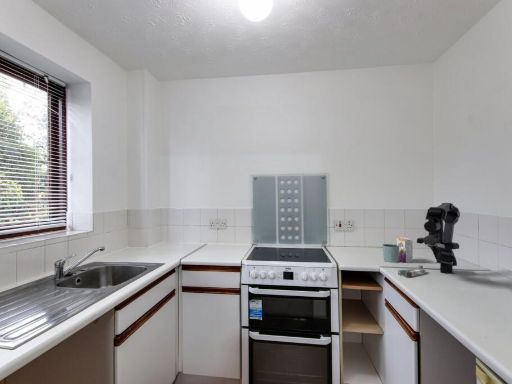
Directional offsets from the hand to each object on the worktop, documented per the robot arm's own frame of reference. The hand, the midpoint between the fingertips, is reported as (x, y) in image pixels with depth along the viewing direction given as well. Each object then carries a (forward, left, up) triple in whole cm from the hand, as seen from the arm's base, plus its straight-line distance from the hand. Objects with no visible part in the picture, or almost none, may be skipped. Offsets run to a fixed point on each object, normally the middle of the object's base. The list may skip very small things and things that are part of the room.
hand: (436, 258), depth 136 cm
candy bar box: (-19, -32, -12) cm, 39 cm away
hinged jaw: (+6, -11, -11) cm, 17 cm away
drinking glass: (-8, -34, -12) cm, 37 cm away
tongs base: (+5, -12, -12) cm, 18 cm away
